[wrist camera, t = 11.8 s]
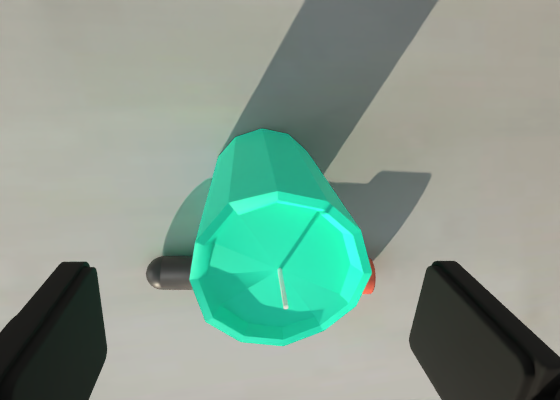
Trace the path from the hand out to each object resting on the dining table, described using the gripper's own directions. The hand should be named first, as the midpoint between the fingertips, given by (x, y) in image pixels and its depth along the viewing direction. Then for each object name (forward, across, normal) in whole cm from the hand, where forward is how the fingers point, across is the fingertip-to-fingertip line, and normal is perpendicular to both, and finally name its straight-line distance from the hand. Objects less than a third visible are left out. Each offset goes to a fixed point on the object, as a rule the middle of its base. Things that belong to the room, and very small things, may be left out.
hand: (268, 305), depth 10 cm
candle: (+12, -1, 0) cm, 12 cm away
